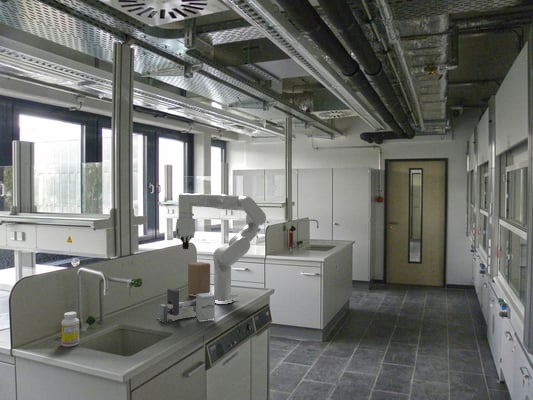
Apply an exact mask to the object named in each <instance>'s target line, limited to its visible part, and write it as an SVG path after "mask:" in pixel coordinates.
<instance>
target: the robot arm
mask: <svg viewBox="0 0 533 400" xmlns="http://www.w3.org/2000/svg"><path fill="white" fill-rule="evenodd" d="M193 207H200V208H201V207H202V208H203V207H204V208H212V209H218V210H226V211H228V210H231V211H243V212H245V214H246V216H245V225H244V227H243V228H242V229H241V230H240V231H238V232H237V233H236V234H235V235H234V236H233V237H230V240H229V242H228V247H224V246H221V247H217V248H216V249H215V250H214V252H213V258H212V259H213V267H214V270H213V271H214V273H213V274H214V277H213V278H214V279H213V280H214V281H213V282H214V285H213V287H214V289H213V295H215V300H218V301H225V300H229V299H231V298H232V299H234V298H237V297H238V296H239V295H238V293H234V294H233V293H232V268H231V266H234V265H235V264H236V263H237V262H238V261H239V260H240V259H242V258H243V257H244V256H245V255H246V254H247V253H248V252H249V250H250V248H251V242H252V240H254V238H255V237H256V236H257V234H258V233H259V226H262V225H264V224H265V223H266V221H267V216H266V215H267V214H266V213H265V211H263V209H262V208H261V207H260V206H259V205H258V203H256V202H255V200H254V199H253V198H252V197H250V196H247V195H246V196H244V195H235V194H234V195H231V194H224V193H223V194H222V193H221V194H207V193H199V192H197V193H179V194H178V218H176V221H175V222H176V223H175V236H176V239H177V240H180V241H181V242H182V249H183V250H189V246H190V244H189V243H190V242H191V239H194V238H195V233H196V232H195V231H196V230H195V229H196V228H195V219H194V218H193V216H195V214H194V213H193Z"/></svg>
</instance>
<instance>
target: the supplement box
mask: <svg viewBox="0 0 533 400" xmlns="http://www.w3.org/2000/svg"><path fill="white" fill-rule="evenodd" d="M195 299H196V317H197V318H198V319H199V320H208V319H213V318H216V317H215V315H216V307H215V305H216V304H215V295H214V293H211V292H210V293H203V294H196V297H195ZM196 317H195V318H196Z"/></svg>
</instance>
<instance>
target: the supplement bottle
mask: <svg viewBox="0 0 533 400" xmlns="http://www.w3.org/2000/svg"><path fill="white" fill-rule="evenodd" d="M77 316H78V315H77V311H68V312H65V313H64V314H63V317H64V319H62V320H61V325H60V326H61V346H62V347H65V348H66V347H70V348H71V347H74V346H77V345H78V344H79V343H80V320H79V318H78V317H77Z"/></svg>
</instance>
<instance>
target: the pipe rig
mask: <svg viewBox="0 0 533 400" xmlns="http://www.w3.org/2000/svg"><path fill="white" fill-rule="evenodd" d="M191 307H192V308H193V309H192V310H193V311H194V312H196V298H193V299H192V300H187V301H181V302H180V301H179V310H180V309H185V308H191ZM169 310H173V304H168V305H167V304H159V317H157V318H156V320H157V319H159V320H161V321H163V322H167V323H169V322H168V321H172V319H169V317H167V316H168V313H167V311H169ZM159 320H158V321H159ZM161 321H160V322H161ZM163 322H162V323H163ZM172 322H173V321H172Z"/></svg>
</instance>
